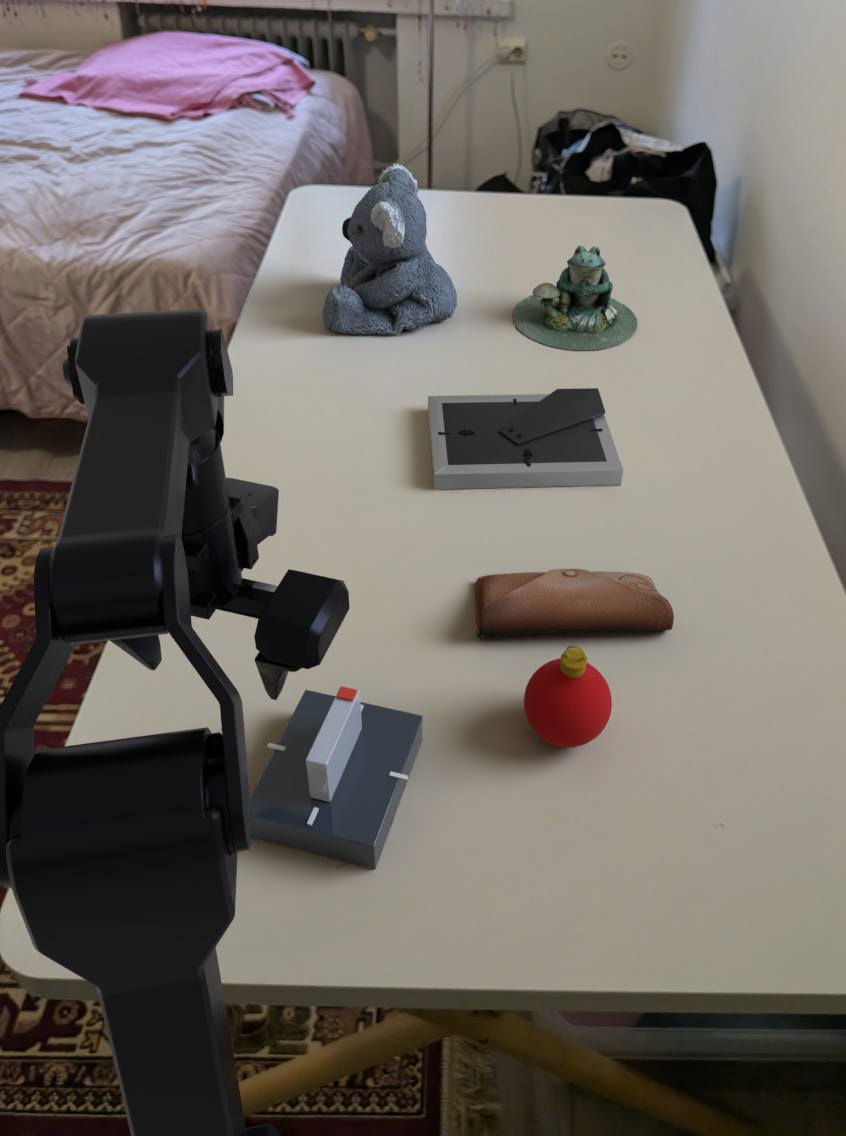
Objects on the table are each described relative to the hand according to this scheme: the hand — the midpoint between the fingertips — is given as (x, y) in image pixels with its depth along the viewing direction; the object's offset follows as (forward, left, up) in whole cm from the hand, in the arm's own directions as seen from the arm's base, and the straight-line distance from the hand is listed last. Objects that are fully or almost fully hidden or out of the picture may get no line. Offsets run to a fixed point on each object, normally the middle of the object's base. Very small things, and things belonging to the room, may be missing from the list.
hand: (215, 679), depth 67 cm
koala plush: (+78, +12, -12) cm, 80 cm away
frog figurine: (+84, -13, -12) cm, 86 cm away
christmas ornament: (+12, -24, -12) cm, 29 cm away
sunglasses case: (+26, -22, -12) cm, 36 cm away
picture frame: (+51, -12, -12) cm, 54 cm away
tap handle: (+2, -8, -9) cm, 12 cm away
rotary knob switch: (+2, -8, -12) cm, 14 cm away
